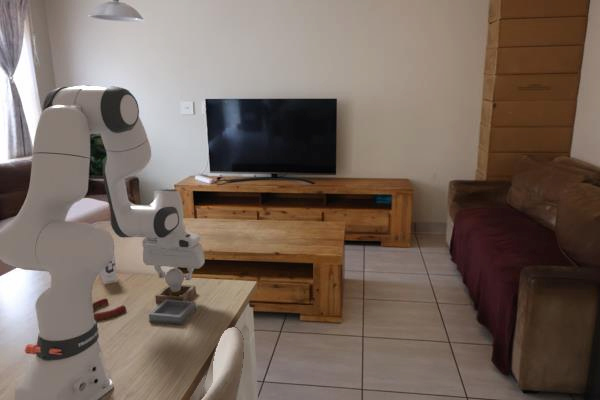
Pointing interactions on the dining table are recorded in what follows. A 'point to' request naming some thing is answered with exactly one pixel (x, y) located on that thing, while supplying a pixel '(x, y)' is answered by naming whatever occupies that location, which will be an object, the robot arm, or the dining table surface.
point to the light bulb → (174, 280)
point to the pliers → (107, 313)
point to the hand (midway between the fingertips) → (175, 278)
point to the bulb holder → (185, 289)
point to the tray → (172, 312)
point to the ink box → (109, 272)
